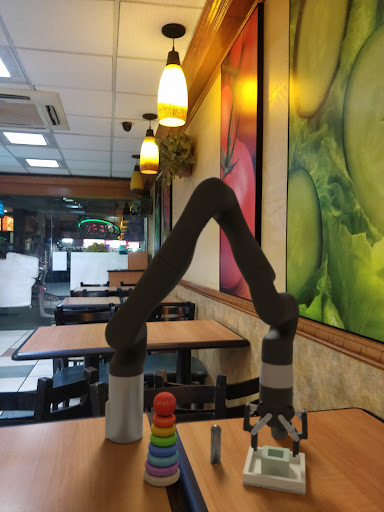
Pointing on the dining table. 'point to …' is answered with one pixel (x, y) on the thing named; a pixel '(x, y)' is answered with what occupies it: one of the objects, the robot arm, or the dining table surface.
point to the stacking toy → (162, 443)
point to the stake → (215, 444)
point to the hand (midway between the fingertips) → (274, 452)
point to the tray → (291, 484)
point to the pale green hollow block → (275, 461)
